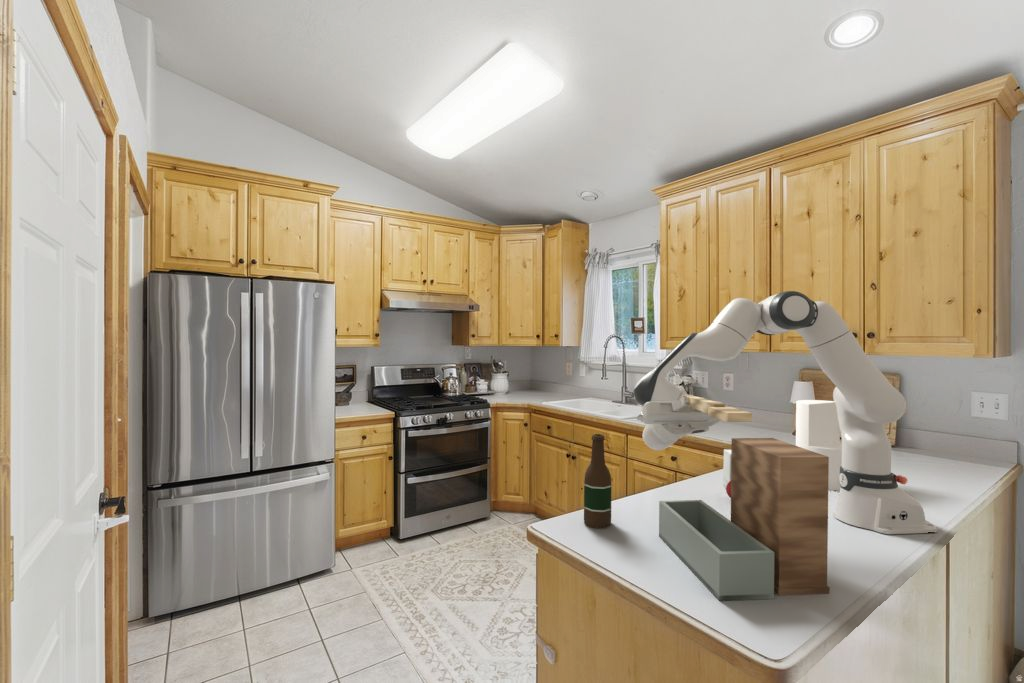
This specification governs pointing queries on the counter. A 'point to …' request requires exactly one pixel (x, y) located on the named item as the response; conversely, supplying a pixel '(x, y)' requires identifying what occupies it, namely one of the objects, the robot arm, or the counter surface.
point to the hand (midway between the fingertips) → (694, 400)
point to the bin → (717, 551)
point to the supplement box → (727, 467)
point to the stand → (784, 509)
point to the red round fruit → (728, 489)
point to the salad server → (718, 410)
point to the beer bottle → (597, 487)
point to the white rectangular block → (820, 434)
